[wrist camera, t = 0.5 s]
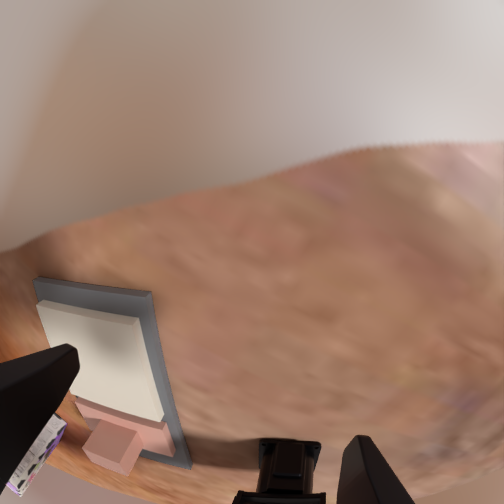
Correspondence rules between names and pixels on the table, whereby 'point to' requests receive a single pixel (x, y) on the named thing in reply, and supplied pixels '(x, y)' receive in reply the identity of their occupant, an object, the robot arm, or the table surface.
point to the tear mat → (142, 308)
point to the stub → (121, 436)
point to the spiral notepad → (105, 357)
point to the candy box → (37, 455)
